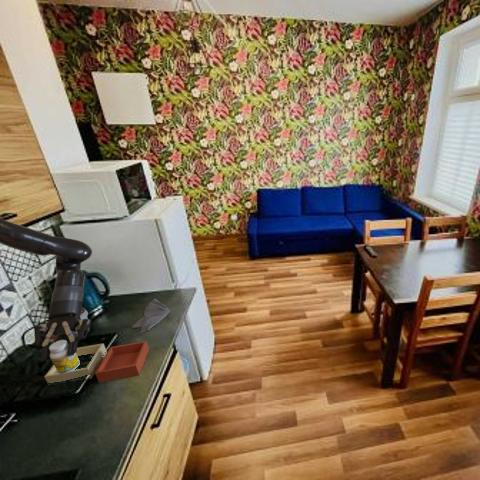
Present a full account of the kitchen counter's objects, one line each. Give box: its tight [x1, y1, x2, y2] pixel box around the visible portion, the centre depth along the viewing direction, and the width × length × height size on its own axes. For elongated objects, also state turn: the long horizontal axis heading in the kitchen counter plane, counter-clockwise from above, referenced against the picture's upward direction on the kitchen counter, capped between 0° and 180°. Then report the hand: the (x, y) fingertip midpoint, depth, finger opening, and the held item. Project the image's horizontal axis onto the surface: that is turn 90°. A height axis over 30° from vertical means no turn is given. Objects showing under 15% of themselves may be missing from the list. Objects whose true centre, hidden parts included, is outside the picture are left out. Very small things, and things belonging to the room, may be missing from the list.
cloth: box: [131, 297, 171, 334], centre depth 129 cm, size 26×14×2 cm, turn 12°
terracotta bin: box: [94, 340, 150, 384], centre depth 101 cm, size 13×13×5 cm
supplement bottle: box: [49, 339, 80, 374], centre depth 82 cm, size 5×5×10 cm
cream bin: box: [44, 343, 108, 384], centre depth 99 cm, size 13×13×5 cm
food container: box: [76, 307, 91, 333], centre depth 118 cm, size 12×6×10 cm, turn 80°
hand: (58, 357), depth 80 cm, fingers closed on supplement bottle, 5 cm apart
